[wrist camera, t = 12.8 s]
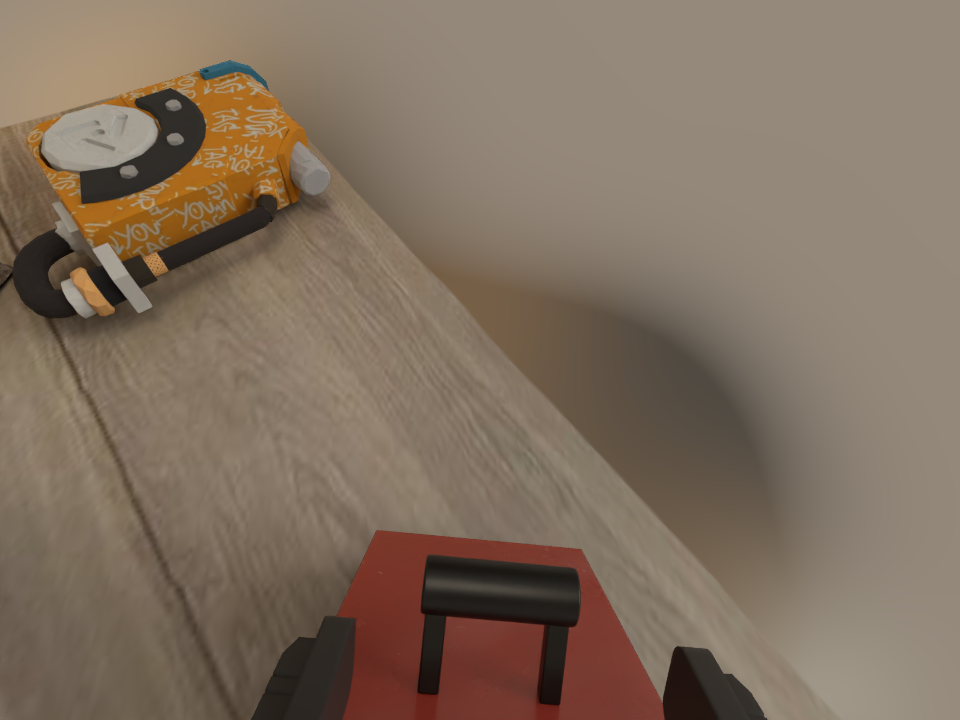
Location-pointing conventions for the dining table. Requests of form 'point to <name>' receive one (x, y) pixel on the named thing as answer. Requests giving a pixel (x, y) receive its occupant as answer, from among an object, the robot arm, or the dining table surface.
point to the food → (4, 272)
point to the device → (160, 184)
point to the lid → (488, 635)
